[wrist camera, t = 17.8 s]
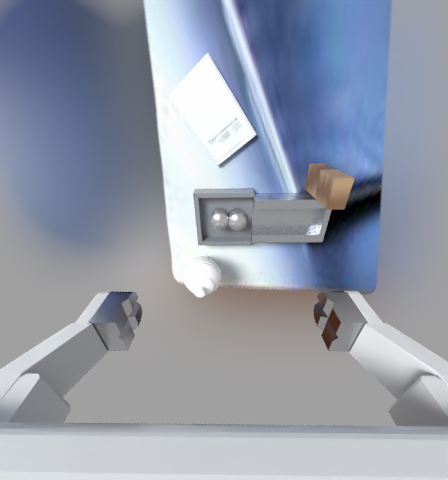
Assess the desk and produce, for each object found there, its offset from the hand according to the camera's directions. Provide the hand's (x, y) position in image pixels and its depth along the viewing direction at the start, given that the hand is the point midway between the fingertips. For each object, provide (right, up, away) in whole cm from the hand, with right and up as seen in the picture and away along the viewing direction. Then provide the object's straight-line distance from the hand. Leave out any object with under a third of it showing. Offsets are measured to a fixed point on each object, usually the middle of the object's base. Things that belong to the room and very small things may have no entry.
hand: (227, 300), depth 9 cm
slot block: (+12, +8, +32) cm, 35 cm away
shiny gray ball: (-1, +8, +31) cm, 32 cm away
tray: (0, +8, +32) cm, 33 cm away
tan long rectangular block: (+16, +14, +28) cm, 35 cm away
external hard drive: (-2, +23, +23) cm, 33 cm away
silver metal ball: (+2, +8, +31) cm, 32 cm away
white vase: (-4, -1, +37) cm, 37 cm away
